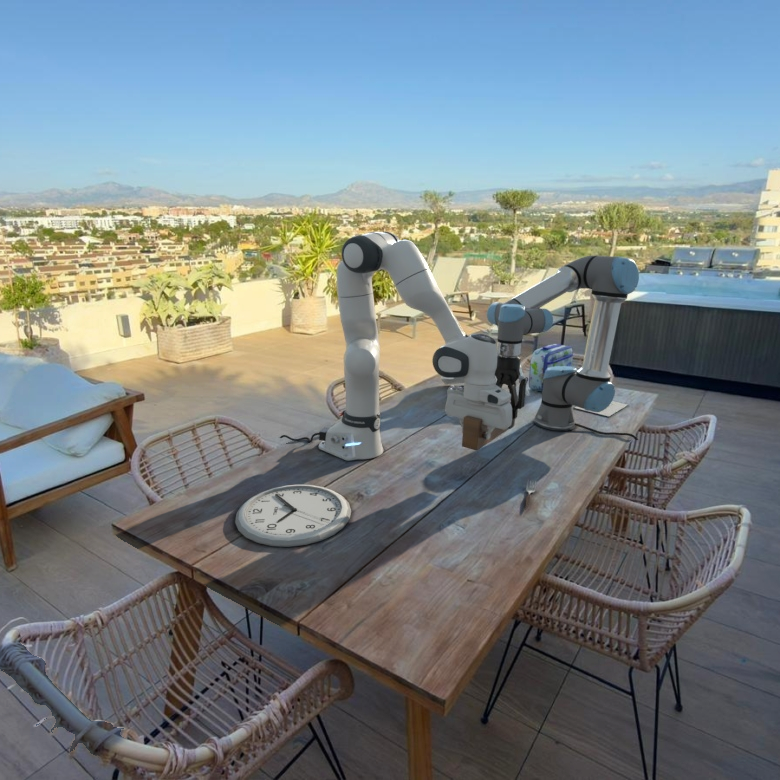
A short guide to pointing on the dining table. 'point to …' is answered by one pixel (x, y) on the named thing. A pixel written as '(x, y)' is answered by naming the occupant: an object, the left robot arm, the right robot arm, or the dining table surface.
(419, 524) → the dining table surface
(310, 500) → the wall clock
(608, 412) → the invitation card
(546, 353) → the lunch box
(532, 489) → the fork
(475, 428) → the bar
